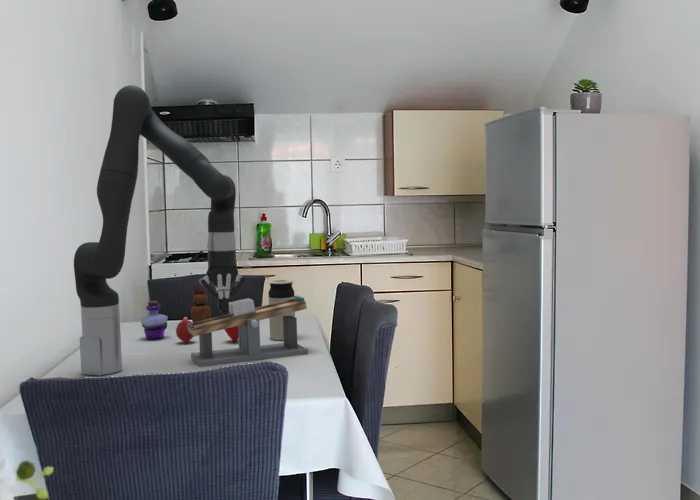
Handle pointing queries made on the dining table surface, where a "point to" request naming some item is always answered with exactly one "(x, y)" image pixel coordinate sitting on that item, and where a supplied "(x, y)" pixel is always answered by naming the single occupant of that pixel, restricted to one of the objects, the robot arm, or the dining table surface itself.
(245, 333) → the pivot stand
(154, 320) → the potion bottle
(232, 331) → the strawberry
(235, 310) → the block
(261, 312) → the beam
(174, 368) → the dining table surface
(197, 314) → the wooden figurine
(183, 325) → the pomegranate
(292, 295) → the travel mug
